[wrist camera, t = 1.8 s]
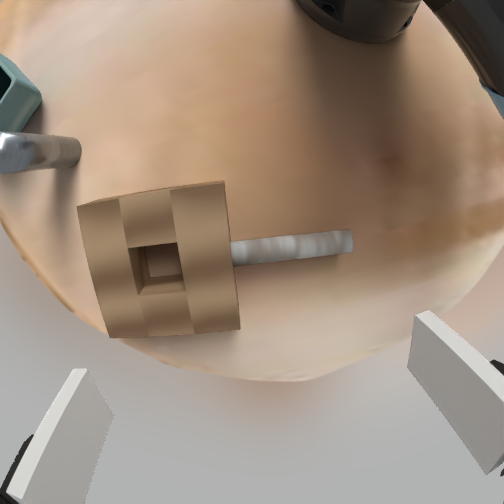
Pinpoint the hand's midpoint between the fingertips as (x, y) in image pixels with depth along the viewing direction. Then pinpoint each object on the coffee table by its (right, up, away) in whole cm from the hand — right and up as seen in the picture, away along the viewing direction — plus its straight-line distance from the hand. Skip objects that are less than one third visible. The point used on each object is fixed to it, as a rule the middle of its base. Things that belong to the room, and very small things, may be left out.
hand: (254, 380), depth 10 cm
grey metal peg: (-20, +16, +17) cm, 31 cm away
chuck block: (-3, +5, +21) cm, 22 cm away
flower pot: (-28, +23, +14) cm, 39 cm away
